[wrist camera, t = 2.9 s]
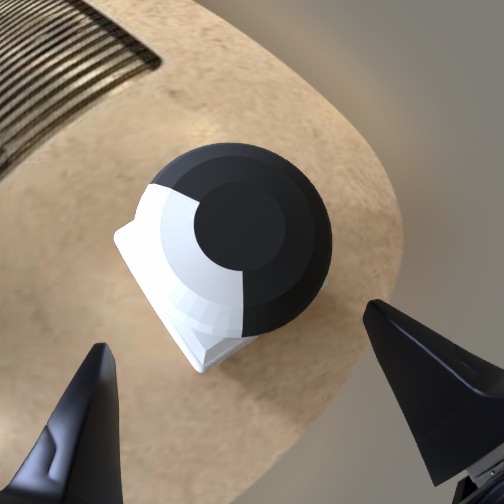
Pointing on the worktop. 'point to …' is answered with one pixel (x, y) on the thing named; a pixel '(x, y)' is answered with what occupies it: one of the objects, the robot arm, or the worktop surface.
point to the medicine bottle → (228, 247)
